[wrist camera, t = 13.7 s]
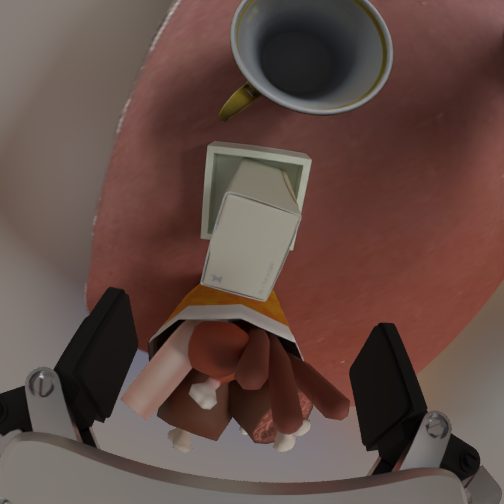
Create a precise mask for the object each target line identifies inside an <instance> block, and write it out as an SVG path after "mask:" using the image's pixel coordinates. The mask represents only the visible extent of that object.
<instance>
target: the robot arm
mask: <svg viewBox="0 0 504 504" xmlns="http://www.w3.org/2000/svg"><path fill="white" fill-rule="evenodd" d="M137 348H138V339H137V335H136V330H135V326H134V321H133V316H132V311H131V305H130V300H129V296H128V294H125V291H124V290H123V289H118V288H113V287H109V288H108V289H107V290H106V292H105V293H104V294H103V296H102V297H101V299H100V300H99V302H98V303H97V305H96V306H95V308H94V309H93V311H92V312H91V314H90V315H89V316H88V317H86V318H85V319H84V321H83V322H82V324H81V325H80V327H79V328H78V330H77V332H76V333H75V335H74V336H73V338H72V339H71V341H70V343H69V344H68V346H67V347H66V349H65V351H64V352H63V354H62V356H61V357H60V359H59V361H58V363H57V364H56V366H55V368H54V370H52V369H51V368H48V367H39V368H36V369H34V370H33V371H32V372H30V373H29V375H28V376H27V378H26V382H25V386H22V387H19V388H16V389H13V390H10V391H7V392H4V393H1V394H0V504H499V502H500V500H501V496H502V490H501V488H500V486H499V485H498V484H497V482H496V481H495V480H494V479H493V478H492V476H491V475H490V474H489V473H488V471H487V470H486V469H485V468H484V466H483V465H482V466H480V456H479V453H478V452H477V450H476V449H474V448H473V447H472V446H470V445H469V444H467V443H465V442H463V441H462V440H461V439H459V438H457V437H456V436H454V435H453V434H451V430H452V429H451V423H450V420H449V419H448V417H447V416H446V415H445V414H444V413H442V412H440V411H431V412H427V405H426V402H425V399H424V396H423V394H422V391H421V388H420V386H419V383H418V380H417V377H416V375H415V372H414V369H413V367H412V364H411V362H410V359H409V357H408V354H407V352H406V349H405V347H404V345H403V342H402V340H401V338H400V335H399V333H398V331H397V328H396V326H395V325H394V324H393V323H379V324H378V325H377V326H375V327H374V328H373V330H372V332H371V333H370V335H369V337H368V339H367V341H366V342H365V344H364V346H363V348H362V349H361V351H360V353H359V354H358V356H357V358H356V359H355V361H354V363H353V364H352V366H351V368H350V372H349V376H350V381H351V386H352V390H353V395H354V400H355V405H356V411H357V416H358V421H359V427H360V432H361V438H362V443H363V445H364V446H366V450H367V451H373V450H378V452H379V457H378V459H377V460H376V462H375V463H374V465H373V467H372V468H371V470H370V471H369V473H368V474H367V476H366V477H358V478H351V479H343V480H334V481H321V482H306V483H305V482H304V483H267V482H248V481H235V480H226V479H218V478H210V477H204V476H197V475H192V474H186V473H181V472H176V471H172V470H167V469H163V468H159V467H155V466H151V465H147V464H143V463H140V462H137V461H133V460H130V459H126V458H123V457H120V456H117V455H114V454H111V453H108V452H105V451H103V450H101V449H100V447H99V445H98V442H97V440H96V437H95V435H94V433H93V430H92V425H93V422H94V420H97V421H99V422H102V423H104V421H105V419H106V418H109V417H110V416H111V413H112V411H113V408H114V405H115V403H116V400H117V398H118V395H119V392H120V390H121V387H122V385H123V382H124V380H125V377H126V375H127V372H128V370H129V368H130V365H131V363H132V361H133V358H134V356H135V353H136V351H137Z"/></svg>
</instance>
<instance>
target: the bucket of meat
mask: <svg viewBox="0 0 504 504" xmlns="http://www.w3.org/2000/svg"><path fill="white" fill-rule="evenodd" d="M148 352H149V363H148V364H147V365H146V367H145V368H144V369H143V370H142V372H141V373H140V374H139V375H138V377H137V378H136V379H135V380H134V382H133V383H132V384H131V386H130V387H129V388H128V389H127V391H126V392H125V393H124V395H123V396H122V397H121V400H122V401H123V402H124V403H125V404H126V405H128V406H129V407H130V408H131V409H133V410H134V411H135V412H137V414H139V415H140V416H141V417H143V418H144V419H145V420H147V419H148V418H149V417H150V416H151V415H152V414H153V413H154V412H155V411H156V410H157V409H158V413H157V416H158V417H159V418H161V419H162V420H164V421H165V422H167V423H168V424H170V425H172V426H175V427H177V428H176V429H173V430H171V431H169V433H168V439H170V440H171V441H172V442H173V448H175V449H176V450H178V451H180V452H189V451H190V450H192V444H191V437H190V433H193V434H196V435H199V436H202V437H205V438H208V439H211V440H214V441H217V440H218V438H219V437H220V435H221V434H222V432H223V431H224V429H225V428H226V426H227V425H228V423H229V422H230V420H231V419H232V417H233V418H234V419H235V420H236V421H237V422H238V424H239V425H240V431H241V433H242V435H247V434H248V435H249V436H250V437H251V439H252V440H253V441H254V443H261V444H269V443H272V442H274V445H273V448H275V449H276V450H277V451H279V452H280V453H281V452H284V451H287V450H290V449H292V447H293V446H294V444H295V441H296V439H295V436H301V435H303V434H305V433H306V432H307V431H309V430H310V424H311V423H310V420H308V417H309V415H310V413H311V410H312V408H313V404H314V406H316V408H317V409H318V410H319V411H320V412H321V413H322V414H323V415H324V416H325V417H326V418H330V419H336V420H342V419H344V418H345V417H347V416H348V413H349V406H350V400H349V399H347V398H346V397H345V396H344V395H343V394H342V393H341V392H340V391H338V390H337V389H336V388H335V387H334V386H333V385H332V384H331V383H330V382H328V381H327V380H326V379H325V378H324V377H323V376H322V375H321V374H320V373H318V372H317V371H316V370H315V369H314V368H313V367H312V366H311V365H310V364H308V363H306V362H305V361H304V360H303V357H302V355H301V353H300V350H299V348H298V346H297V343H296V341H295V339H294V336H293V335H292V332H291V330H290V327H289V325H288V322H287V320H286V318H285V315H284V313H283V310H282V308H281V306H280V304H279V301H278V299H277V297H276V294H275V292H274V290H273V289H272V291H271V293H270V295H269V297H268V299H267V300H266V301H259V300H255V299H251V298H247V297H243V296H239V295H236V294H232V293H229V292H225V291H221V290H218V289H215V288H211V287H208V286H205V285H201V283H199V284H198V285H197V286H196V287H195V288H193V289H192V290H191V291H190V292H189V293H188V294H187V295H186V296H185V298H184V299H183V300H182V301H181V303H180V304H179V305H178V306H177V308H176V309H175V310H174V311H173V313H172V314H171V315H170V316H169V318H168V319H167V320H166V321H165V323H164V324H163V325H162V326H161V328H160V329H159V330H158V332H157V333H156V334H155V335H153V336H152V338H151V339H150V341H149V342H148Z"/></svg>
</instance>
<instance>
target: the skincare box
mask: <svg viewBox="0 0 504 504" xmlns="http://www.w3.org/2000/svg"><path fill="white" fill-rule="evenodd" d="M301 218H302V216H301V213H300V210H299V207H298V204H297V201H296V198H295V195H294V192H293V190H292V187H291V184H290V181H289V178H288V176H287V173H286V171H285V170H283V169H280V168H277V167H274V166H272V165H269V164H266V163H263V162H260V161H257V160H253V159H250V158H247V157H244V158H242V160H241V162H240V164H239V166H238V168H237V170H236V172H235V174H234V176H233V178H232V180H231V182H230V184H229V186H228V188H227V190H226V192H225V194H224V197H223V200H222V203H221V206H220V209H219V213H218V216H217V219H216V222H215V226H214V229H213V233H212V236H211V240H210V244H209V248H208V252H207V256H206V260H205V264H204V269H203V273H202V278H201V282H200V283H201V285H205V286H208V287H211V288H215V289H218V290H221V291H225V292H229V293H232V294H236V295H239V296H243V297H247V298H251V299H255V300H259V301H266V300H267V299H268V297H269V295H270V293H271V291H272V289H273V287H274V284H275V282H276V280H277V278H278V276H279V274H280V271H281V269H282V267H283V264H284V262H285V259H286V257H287V255H288V252H289V250H290V247H291V245H292V242H293V240H294V237H295V235H296V232H297V230H298V227H299V224H300V221H301Z"/></svg>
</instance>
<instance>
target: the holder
mask: <svg viewBox="0 0 504 504" xmlns="http://www.w3.org/2000/svg"><path fill="white" fill-rule="evenodd" d="M244 157H247V158H250V159H253V160H257V161H260V162H263V163H266V164H269V165H272V166H274V167H277V168H280V169H283V170H285V171H286V173H287V176H288V178H289V181H290V184H291V187H292V190H293V192H294V195H295V198H296V201H297V204H298V207H299V210H300V213H301V211H302V206H303V202H304V197H305V192H306V187H307V182H308V177H309V172H310V167H311V161H312V160H311V158H310V157H309V156H308V155H307V154H306V153H301V152H295V151H290V150H283V149H277V148H270V147H263V146H256V145H248V144H240V143H231V142H222V141H213V142H212V143H210V144H209V145H208V146H207V157H206V168H205V180H204V193H203V208H202V224H201V239H208V240H211V236H212V233H213V229H214V226H215V222H216V219H217V216H218V213H219V209H220V206H221V203H222V200H223V197H224V194H225V192H226V190H227V188H228V186H229V184H230V182H231V180H232V178H233V176H234V174H235V172H236V170H237V168H238V166H239V164H240V162H241V160H242V158H244ZM296 234H297V232H296ZM295 239H296V235H295V237H294V240H293V242H292V245H291V247H290V250H292V251H293V248H294V243H295Z"/></svg>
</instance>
